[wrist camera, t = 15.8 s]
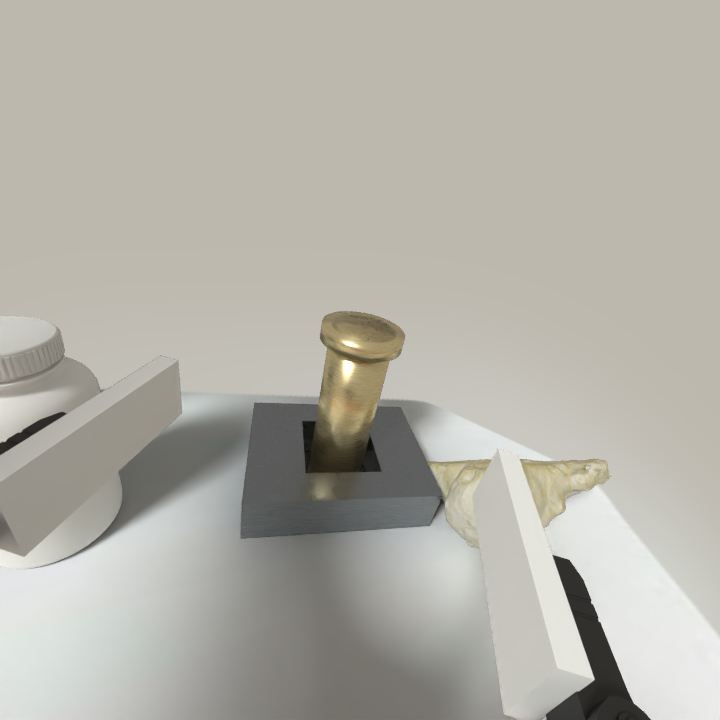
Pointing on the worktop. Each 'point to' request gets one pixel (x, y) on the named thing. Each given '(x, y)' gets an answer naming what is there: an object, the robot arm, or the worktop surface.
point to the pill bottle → (42, 399)
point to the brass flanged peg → (351, 387)
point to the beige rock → (544, 480)
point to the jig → (332, 478)
